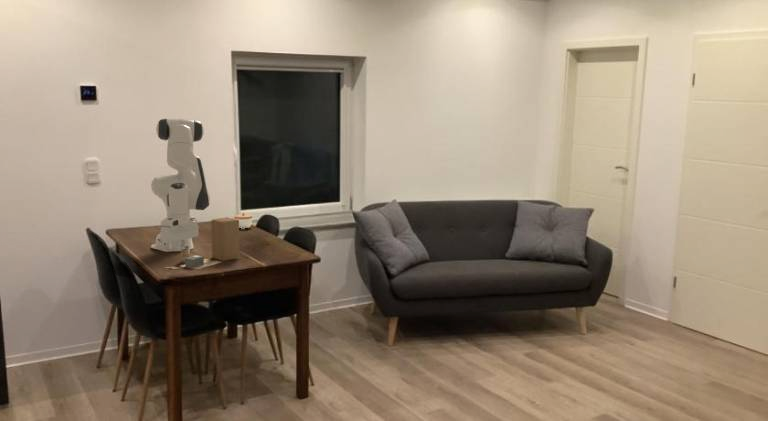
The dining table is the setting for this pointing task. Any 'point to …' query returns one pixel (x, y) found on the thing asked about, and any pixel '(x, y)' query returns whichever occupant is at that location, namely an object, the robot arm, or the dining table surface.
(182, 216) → the robot arm
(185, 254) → the peg
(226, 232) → the wooden block
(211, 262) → the plywood panel
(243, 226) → the lidded jar
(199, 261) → the grey rectangular block
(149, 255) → the dining table surface
